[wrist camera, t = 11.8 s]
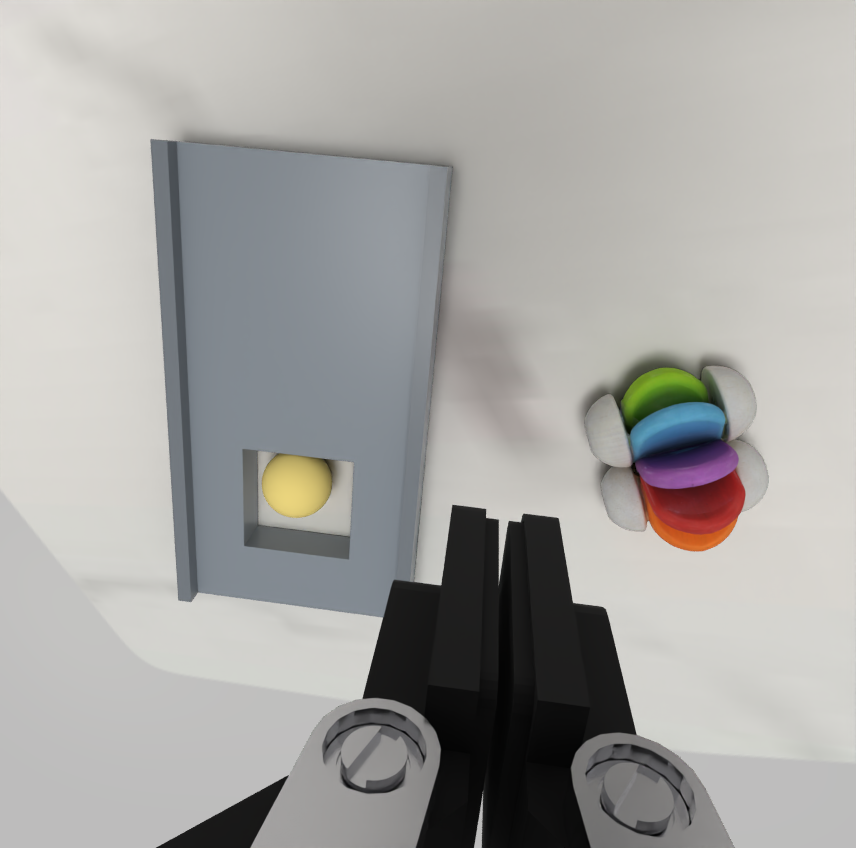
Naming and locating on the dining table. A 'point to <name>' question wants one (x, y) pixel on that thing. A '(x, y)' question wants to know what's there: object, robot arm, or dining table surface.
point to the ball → (296, 484)
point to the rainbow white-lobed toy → (679, 455)
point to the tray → (297, 359)
